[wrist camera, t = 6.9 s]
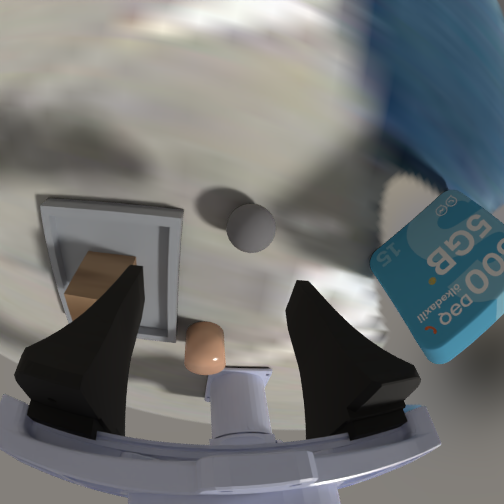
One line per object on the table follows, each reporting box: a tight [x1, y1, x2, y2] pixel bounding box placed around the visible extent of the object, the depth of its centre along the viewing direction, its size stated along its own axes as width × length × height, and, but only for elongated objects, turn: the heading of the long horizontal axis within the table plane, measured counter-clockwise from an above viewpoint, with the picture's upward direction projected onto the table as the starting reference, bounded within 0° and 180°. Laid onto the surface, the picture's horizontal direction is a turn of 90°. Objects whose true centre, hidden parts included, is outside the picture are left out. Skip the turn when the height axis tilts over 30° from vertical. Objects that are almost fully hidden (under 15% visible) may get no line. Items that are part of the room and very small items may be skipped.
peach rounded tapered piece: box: [184, 322, 226, 375], centre depth 27 cm, size 4×4×4 cm
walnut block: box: [64, 251, 137, 321], centre depth 20 cm, size 4×4×6 cm
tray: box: [40, 198, 184, 343], centre depth 22 cm, size 14×12×2 cm
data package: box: [370, 190, 504, 364], centre depth 19 cm, size 12×4×12 cm, turn 133°
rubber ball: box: [227, 204, 276, 253], centre depth 20 cm, size 4×4×4 cm
